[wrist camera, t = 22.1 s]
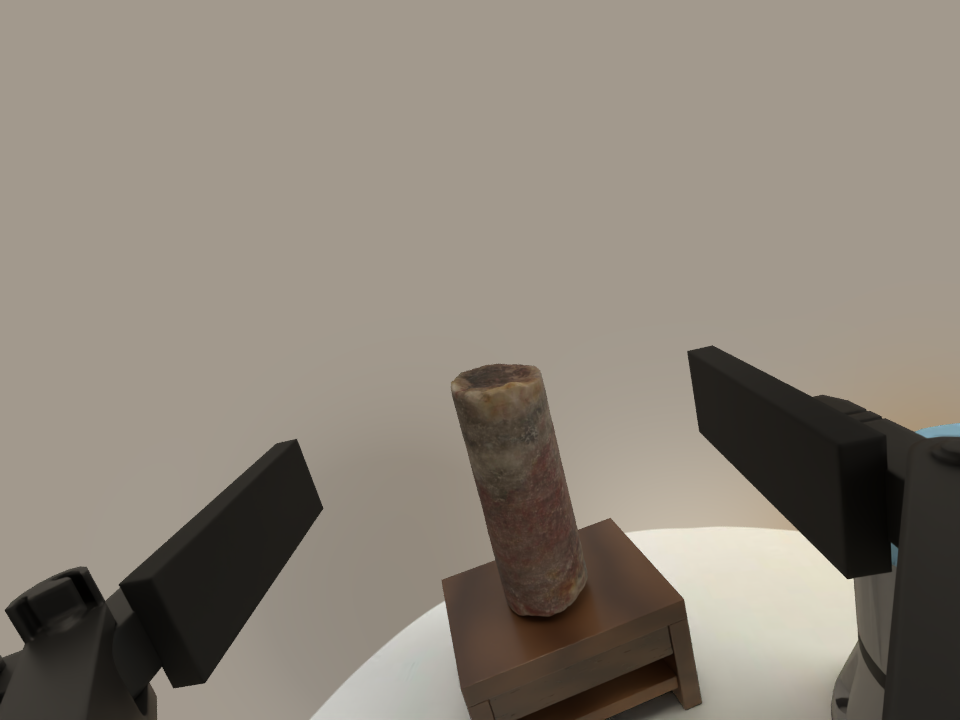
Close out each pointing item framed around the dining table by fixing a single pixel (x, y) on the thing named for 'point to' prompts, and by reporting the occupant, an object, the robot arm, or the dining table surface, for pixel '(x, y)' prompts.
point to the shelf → (573, 640)
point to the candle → (521, 486)
